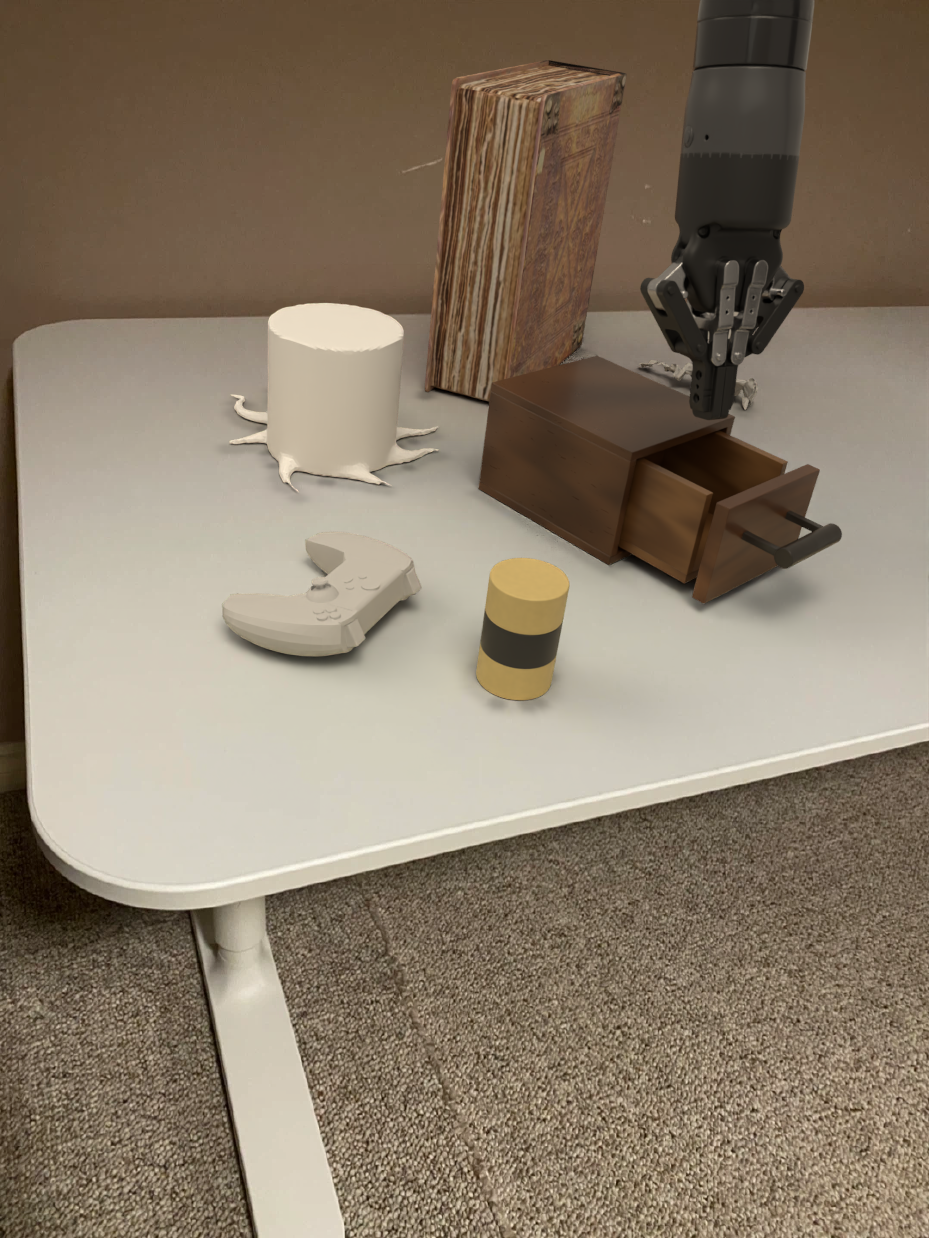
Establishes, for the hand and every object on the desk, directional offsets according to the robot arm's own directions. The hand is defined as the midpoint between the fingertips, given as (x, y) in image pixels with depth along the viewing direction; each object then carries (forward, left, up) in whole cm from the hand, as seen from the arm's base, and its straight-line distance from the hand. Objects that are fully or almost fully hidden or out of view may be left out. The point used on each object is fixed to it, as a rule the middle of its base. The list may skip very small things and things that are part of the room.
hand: (709, 417), depth 76 cm
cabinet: (+14, -7, -15) cm, 22 cm away
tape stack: (0, +17, -15) cm, 23 cm away
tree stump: (+37, +6, -15) cm, 40 cm away
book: (+42, -24, -15) cm, 50 cm away
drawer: (+2, -7, -14) cm, 16 cm away
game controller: (+13, +23, -15) cm, 31 cm away
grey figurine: (+27, -39, -15) cm, 50 cm away
